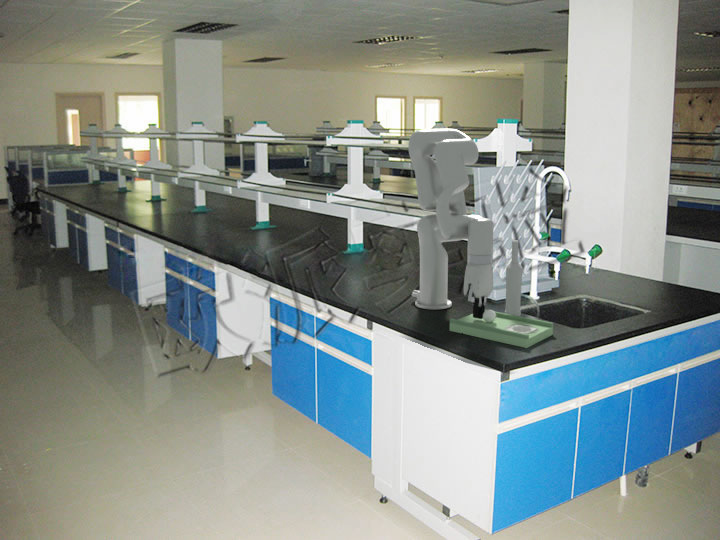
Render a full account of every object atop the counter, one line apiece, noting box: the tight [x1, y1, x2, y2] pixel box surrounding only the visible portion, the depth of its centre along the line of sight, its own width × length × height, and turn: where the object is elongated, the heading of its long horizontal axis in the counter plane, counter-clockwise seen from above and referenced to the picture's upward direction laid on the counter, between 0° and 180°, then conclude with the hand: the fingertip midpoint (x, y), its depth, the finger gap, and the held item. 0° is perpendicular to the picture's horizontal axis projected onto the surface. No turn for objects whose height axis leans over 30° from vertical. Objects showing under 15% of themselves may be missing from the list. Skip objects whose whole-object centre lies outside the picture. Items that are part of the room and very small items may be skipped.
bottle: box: [504, 239, 523, 316], centre depth 223 cm, size 5×5×25 cm
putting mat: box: [449, 309, 554, 349], centre depth 208 cm, size 26×16×4 cm, turn 49°
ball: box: [483, 309, 496, 323], centre depth 210 cm, size 4×4×4 cm
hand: (478, 317), depth 213 cm, fingers closed
